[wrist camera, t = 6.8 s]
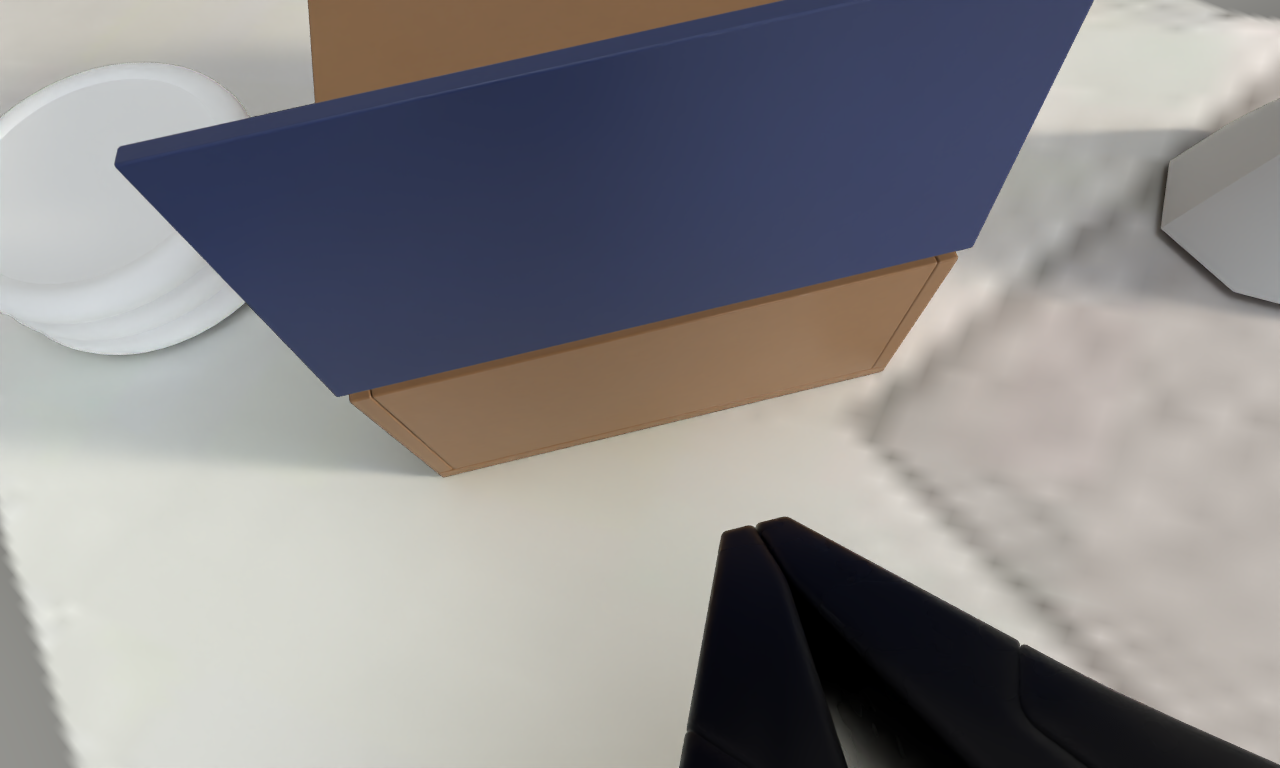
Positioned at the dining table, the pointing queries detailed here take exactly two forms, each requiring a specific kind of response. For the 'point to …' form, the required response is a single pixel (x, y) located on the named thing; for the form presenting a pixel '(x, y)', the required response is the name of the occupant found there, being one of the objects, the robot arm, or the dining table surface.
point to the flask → (1231, 203)
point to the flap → (612, 179)
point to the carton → (623, 360)
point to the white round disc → (104, 212)
